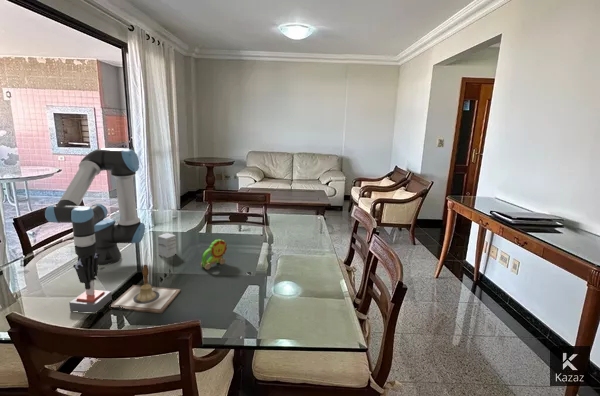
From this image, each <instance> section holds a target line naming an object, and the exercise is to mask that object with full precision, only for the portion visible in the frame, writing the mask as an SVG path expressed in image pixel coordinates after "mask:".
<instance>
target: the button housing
mask: <svg viewBox="0 0 600 396" xmlns="http://www.w3.org/2000/svg"><path fill="white" fill-rule="evenodd" d="M95 290H96V291H104V295H102V296H101V297H100V298H99V299H97V300H96V301H95V302H94V303H93V302H82V301H77V298H78V297H79V296H81V295H82V294H84V293H85V292H86V290H85V291H83V292H82V293H81V294H79V295H78V296H76V297H74V298H73V299H72V300H70V301H69V311H78V312H96V311H97V310H99V309H100V308H101V307H102V306H103V305H104V304H106V303H107V302H109V301H110V300H112V301H113V299H112V298H113V297H112V291H111V290H110V291H109V290H98V289H95ZM110 302H111V301H110ZM110 302H109V303H110Z"/></svg>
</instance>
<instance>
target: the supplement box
mask: <svg viewBox="0 0 600 396" xmlns="http://www.w3.org/2000/svg"><path fill="white" fill-rule="evenodd" d="M157 240H158V241H157V242H158V243H157V244H158V245H157V246H158V255H159V256H161V257H163V258H166V259H168V258H171V257H173V256H176V255H177V235H176V234H173V233H169V232H166V233H162V234H160V235H157ZM175 254H176V255H175Z"/></svg>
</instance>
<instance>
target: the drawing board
mask: <svg viewBox="0 0 600 396" xmlns="http://www.w3.org/2000/svg"><path fill="white" fill-rule="evenodd" d="M141 286H142V285H139V284H138V285H136V284H132V286H131V287H129V288H128V289H127V290H125V292H124V293H122V294H121V295H120V296H119V297H118V298H116V300H114V301H112V303H111V304H110V305H111V307H119V306H120V307H121V308H122V307H123V308H125V309H129V310H128V311H133V310H134V311H135V312H142V313H144V312H145V313H156V314H163V313H164V312H165V310H166V309H167V308H168V307H169V306H170V304H172V302H173V301H174V299H176V297H177V296H178V295H179V294H180V292H182V291H181V290H182V289H179V288H169V287H158V286H151V287H152V291H153V292H154V293H156V297H155V298H154V299H152V300H150V301H145V302H141V301H138V300H137V296H138V295H139V293H140V290H141ZM168 305H169V306H168Z"/></svg>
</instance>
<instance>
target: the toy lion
mask: <svg viewBox="0 0 600 396" xmlns="http://www.w3.org/2000/svg"><path fill="white" fill-rule="evenodd" d="M227 245H228V244H227V243H226V241H225V240H224V239H220V238H218V239H215V240H214V241H211V244H210V245H209V247H208V248H207V249H206V250H205V251H204V252H203V254H202V256H201V263H200V267H202V268H204V269H205V270H210V269H211V267H212V265H213V264H220V265H225V262H226V258H224V255H225V254H226V252H227V249H228V247H227ZM209 254H210V256H209V258H207V257H208V255H209Z"/></svg>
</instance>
